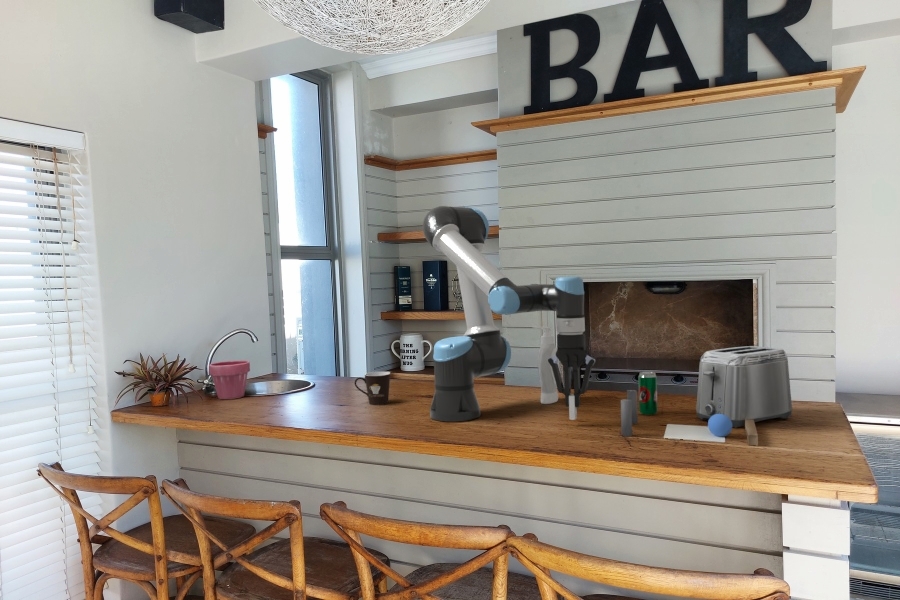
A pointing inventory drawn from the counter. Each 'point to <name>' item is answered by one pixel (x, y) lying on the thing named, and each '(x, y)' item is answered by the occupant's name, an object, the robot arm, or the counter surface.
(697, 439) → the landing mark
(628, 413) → the post
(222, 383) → the plant pot
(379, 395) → the coffee mug
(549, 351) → the soap bottle
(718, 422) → the ball
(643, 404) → the soda can
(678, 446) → the counter surface
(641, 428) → the counter surface
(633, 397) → the post
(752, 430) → the wall
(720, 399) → the toaster
